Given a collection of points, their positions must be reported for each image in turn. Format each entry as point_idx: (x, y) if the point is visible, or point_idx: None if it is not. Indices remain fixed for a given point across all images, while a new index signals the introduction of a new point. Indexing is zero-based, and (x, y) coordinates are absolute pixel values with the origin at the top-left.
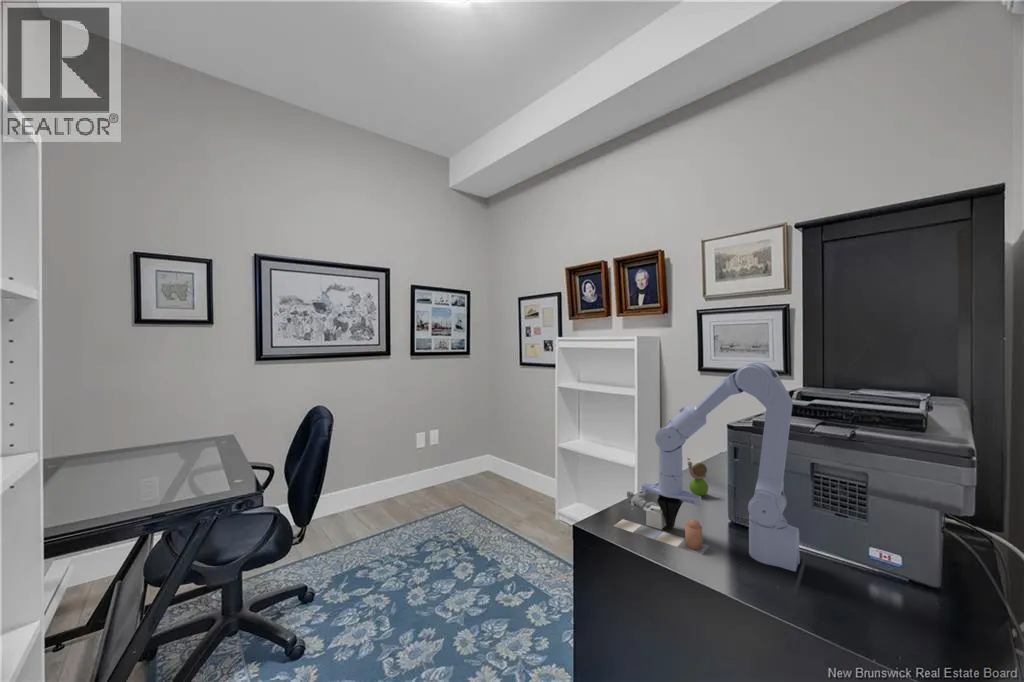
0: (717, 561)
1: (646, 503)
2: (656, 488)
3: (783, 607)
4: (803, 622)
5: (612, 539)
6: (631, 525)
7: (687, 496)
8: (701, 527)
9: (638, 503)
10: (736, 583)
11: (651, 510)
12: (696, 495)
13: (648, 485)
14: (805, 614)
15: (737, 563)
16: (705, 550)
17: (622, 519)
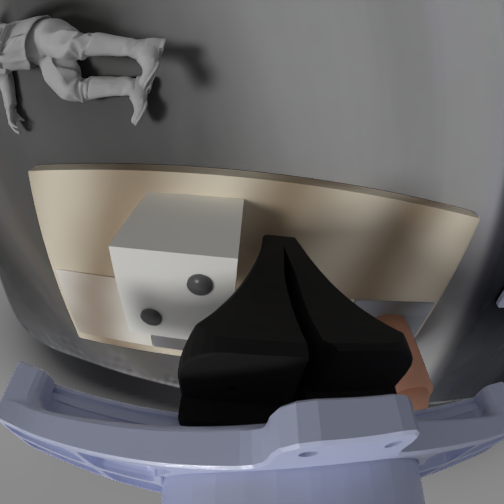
0: (432, 336)
1: (34, 39)
2: (139, 470)
3: (477, 382)
4: (481, 389)
5: (127, 367)
6: (113, 304)
7: (425, 475)
8: (429, 395)
9: (5, 72)
10: (439, 378)
11: (155, 326)
12: (499, 436)
13: (57, 453)
14: (494, 376)
15: (476, 317)
16: (414, 334)
17: (57, 272)
